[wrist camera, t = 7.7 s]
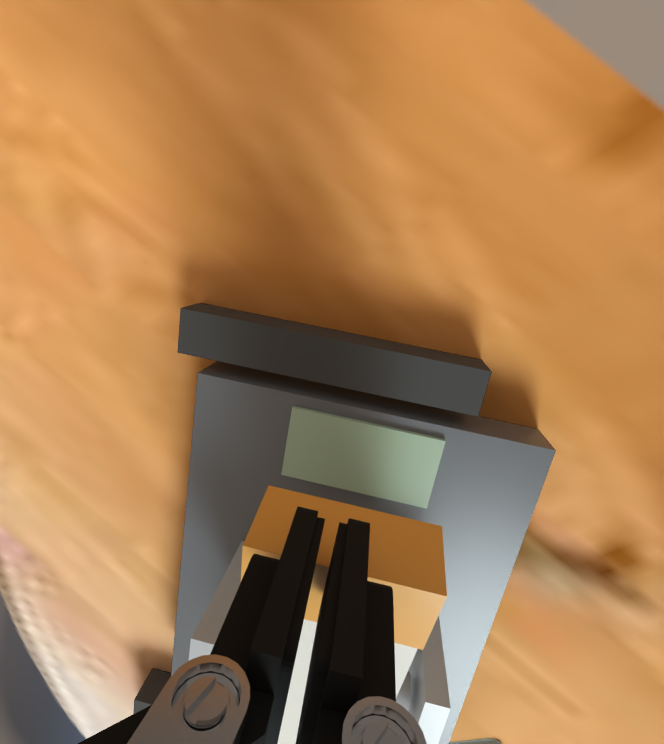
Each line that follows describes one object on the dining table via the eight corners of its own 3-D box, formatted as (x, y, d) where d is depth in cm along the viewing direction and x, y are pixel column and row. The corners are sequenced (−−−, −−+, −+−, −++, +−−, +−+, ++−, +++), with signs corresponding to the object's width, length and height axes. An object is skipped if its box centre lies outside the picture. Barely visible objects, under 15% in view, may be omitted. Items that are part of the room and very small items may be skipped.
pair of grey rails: (481, 359, 17) (491, 371, 16) (362, 769, 24) (360, 808, 23) (178, 298, 18) (156, 303, 17) (149, 708, 25) (132, 741, 24)
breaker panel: (538, 429, 18) (626, 536, 11) (437, 717, 23) (456, 913, 16) (217, 360, 19) (121, 419, 12) (188, 649, 24) (108, 805, 17)
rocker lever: (463, 531, 12) (471, 602, 10) (371, 744, 19) (366, 811, 17) (249, 481, 13) (220, 539, 11) (235, 706, 20) (216, 766, 18)
